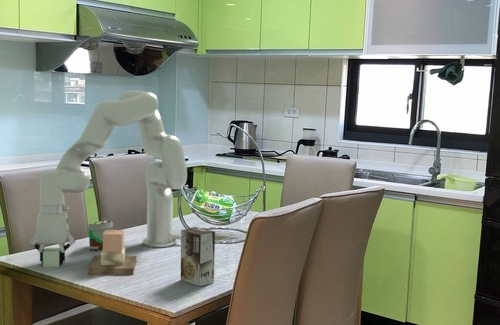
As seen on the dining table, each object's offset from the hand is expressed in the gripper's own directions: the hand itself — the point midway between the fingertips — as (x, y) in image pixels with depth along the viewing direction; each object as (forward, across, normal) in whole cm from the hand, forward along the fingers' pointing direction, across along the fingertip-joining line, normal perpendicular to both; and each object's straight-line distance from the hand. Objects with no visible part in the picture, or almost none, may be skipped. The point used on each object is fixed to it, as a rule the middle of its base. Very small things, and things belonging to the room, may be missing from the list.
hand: (52, 262), depth 200 cm
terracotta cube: (-5, -20, +4) cm, 21 cm away
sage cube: (+1, 0, 0) cm, 1 cm away
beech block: (-1, -20, +4) cm, 20 cm away
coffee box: (+1, -47, +18) cm, 50 cm away
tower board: (+1, -20, +4) cm, 20 cm away
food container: (+1, -14, -20) cm, 24 cm away
